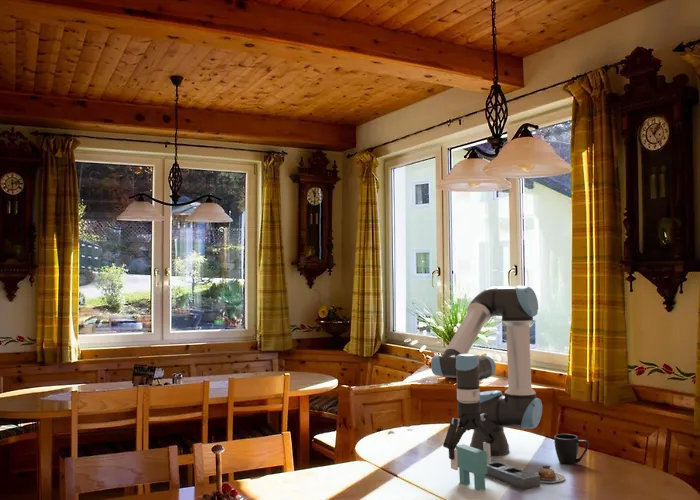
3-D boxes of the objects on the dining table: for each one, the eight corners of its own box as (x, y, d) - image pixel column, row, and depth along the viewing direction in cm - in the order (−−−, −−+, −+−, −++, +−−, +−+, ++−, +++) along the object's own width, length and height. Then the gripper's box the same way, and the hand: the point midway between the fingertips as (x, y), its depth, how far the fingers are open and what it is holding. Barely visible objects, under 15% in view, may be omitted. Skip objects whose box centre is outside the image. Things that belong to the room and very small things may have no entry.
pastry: (560, 487, 210) (559, 473, 211) (523, 482, 217) (523, 468, 217) (569, 477, 220) (568, 463, 221) (533, 473, 227) (533, 459, 227)
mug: (585, 469, 228) (584, 441, 228) (552, 464, 235) (550, 437, 236) (592, 463, 234) (591, 436, 235) (560, 458, 242) (558, 432, 242)
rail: (472, 470, 231) (472, 460, 231) (488, 467, 234) (488, 457, 234) (523, 490, 207) (523, 479, 208) (540, 486, 211) (539, 475, 211)
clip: (456, 481, 219) (455, 445, 219) (465, 479, 220) (463, 444, 221) (479, 491, 208) (477, 453, 209) (488, 489, 210) (486, 451, 210)
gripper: (444, 407, 206) (447, 474, 205) (505, 398, 218) (508, 462, 217) (431, 403, 213) (433, 469, 212) (490, 395, 225) (493, 457, 223)
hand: (471, 466), depth 214 cm, fingers open, 13 cm apart
